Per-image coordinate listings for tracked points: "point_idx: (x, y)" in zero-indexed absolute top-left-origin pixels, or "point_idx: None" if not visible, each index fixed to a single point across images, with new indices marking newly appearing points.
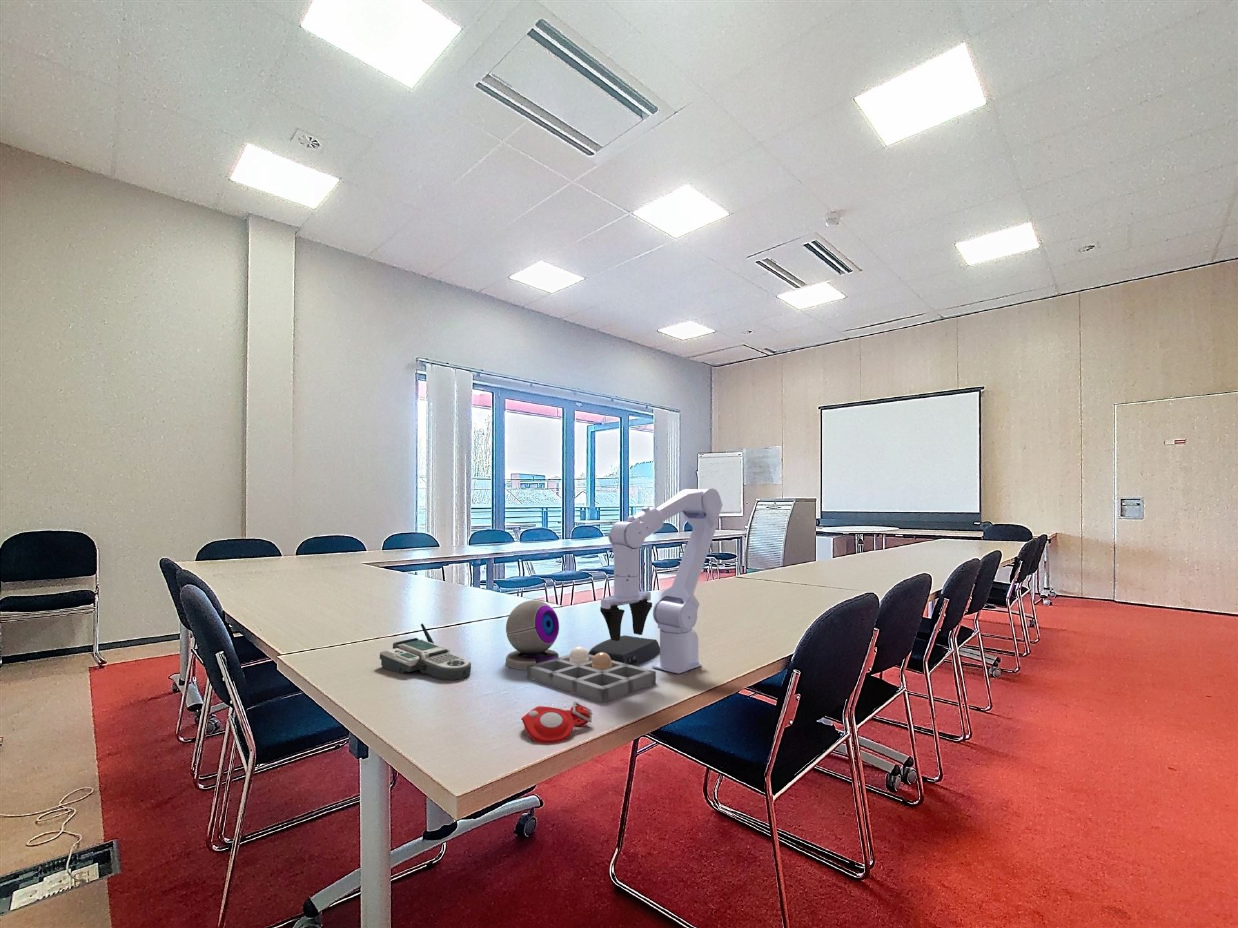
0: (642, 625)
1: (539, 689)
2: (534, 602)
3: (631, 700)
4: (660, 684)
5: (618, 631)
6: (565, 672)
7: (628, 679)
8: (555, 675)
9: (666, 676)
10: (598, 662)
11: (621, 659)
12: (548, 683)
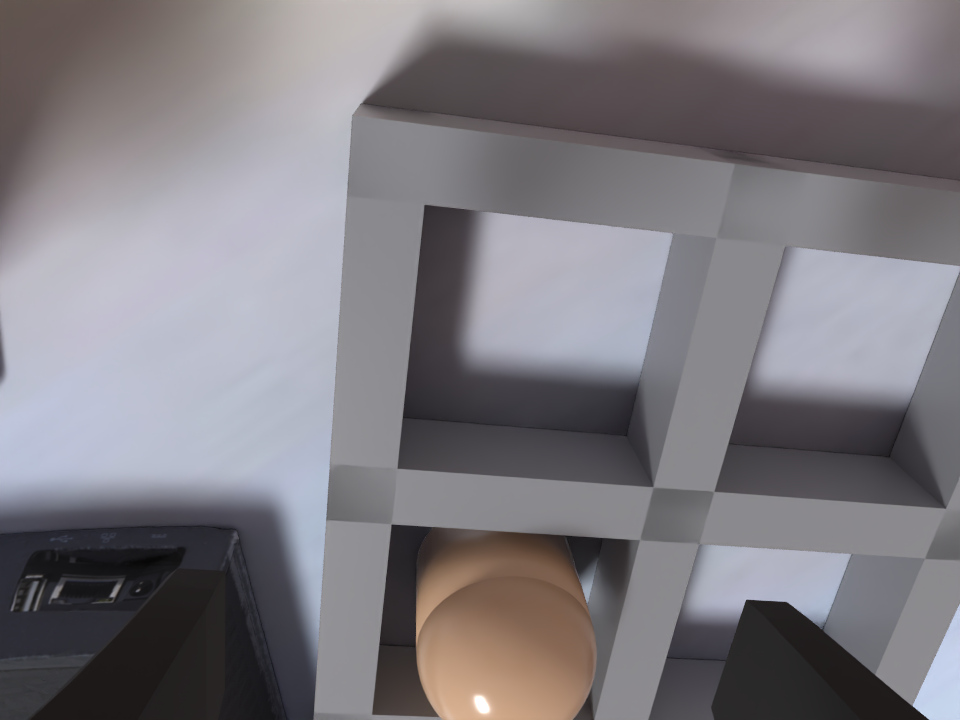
0: (155, 671)
1: (944, 680)
2: None
3: (912, 15)
4: (363, 39)
5: (900, 698)
6: None
7: (762, 197)
8: None
9: (101, 132)
10: (593, 640)
11: None
12: None
